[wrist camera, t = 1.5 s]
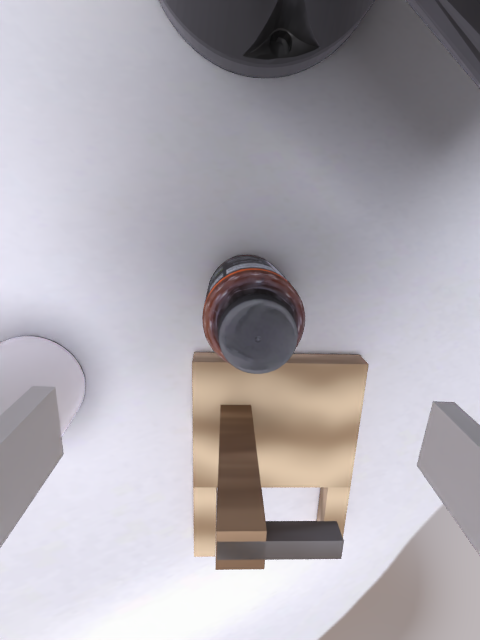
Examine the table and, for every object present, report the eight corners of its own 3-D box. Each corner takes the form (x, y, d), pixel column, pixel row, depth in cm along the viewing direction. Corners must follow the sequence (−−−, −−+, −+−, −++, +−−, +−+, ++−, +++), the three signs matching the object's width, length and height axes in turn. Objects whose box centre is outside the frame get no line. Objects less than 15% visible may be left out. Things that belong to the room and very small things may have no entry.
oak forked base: (194, 352, 30) (192, 361, 28) (359, 354, 30) (368, 364, 28) (195, 538, 36) (194, 556, 34) (334, 537, 36) (340, 555, 34)
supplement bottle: (273, 332, 30) (301, 403, 19) (202, 319, 29) (188, 384, 18) (291, 261, 28) (332, 293, 17) (215, 246, 27) (208, 269, 16)
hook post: (220, 404, 29) (216, 531, 18) (298, 405, 29) (345, 530, 18) (220, 431, 30) (215, 569, 18) (296, 431, 30) (339, 568, 19)
